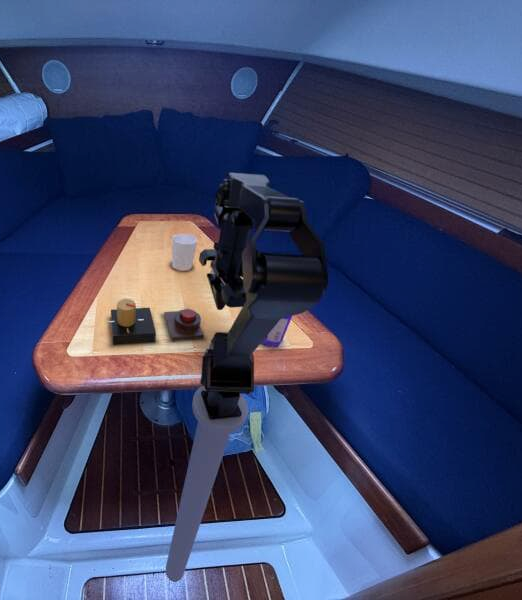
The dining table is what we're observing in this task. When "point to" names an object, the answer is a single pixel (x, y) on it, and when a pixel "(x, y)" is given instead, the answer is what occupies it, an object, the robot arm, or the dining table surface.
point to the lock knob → (126, 312)
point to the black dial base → (134, 328)
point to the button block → (183, 327)
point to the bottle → (277, 333)
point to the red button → (188, 315)
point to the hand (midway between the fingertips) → (219, 309)
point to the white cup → (183, 251)
